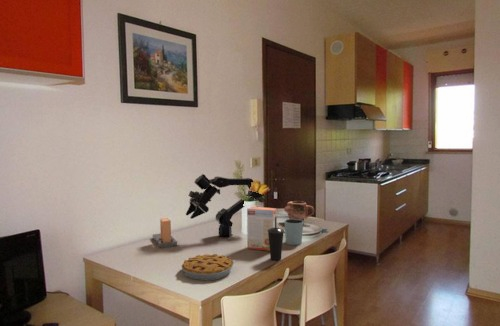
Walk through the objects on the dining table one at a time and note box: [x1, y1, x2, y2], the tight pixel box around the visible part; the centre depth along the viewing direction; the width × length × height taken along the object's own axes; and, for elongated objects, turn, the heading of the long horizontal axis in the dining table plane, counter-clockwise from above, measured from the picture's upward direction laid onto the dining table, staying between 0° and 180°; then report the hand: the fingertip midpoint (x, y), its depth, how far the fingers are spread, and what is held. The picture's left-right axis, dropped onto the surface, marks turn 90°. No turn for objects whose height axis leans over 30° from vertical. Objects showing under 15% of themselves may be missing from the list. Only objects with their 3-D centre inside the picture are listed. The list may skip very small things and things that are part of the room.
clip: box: [159, 217, 172, 243], centre depth 195 cm, size 7×4×13 cm, turn 25°
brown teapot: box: [283, 200, 315, 222], centre depth 239 cm, size 20×12×14 cm, turn 72°
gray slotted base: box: [152, 233, 178, 249], centre depth 199 cm, size 20×9×2 cm, turn 25°
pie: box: [181, 253, 235, 281], centre depth 156 cm, size 22×22×5 cm
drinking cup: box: [268, 216, 285, 262], centre depth 170 cm, size 8×8×20 cm
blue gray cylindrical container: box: [284, 218, 305, 246], centre depth 196 cm, size 10×10×12 cm
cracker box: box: [246, 206, 278, 252], centre depth 186 cm, size 14×6×21 cm, turn 69°
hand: (188, 216), depth 200 cm, fingers open, 9 cm apart
